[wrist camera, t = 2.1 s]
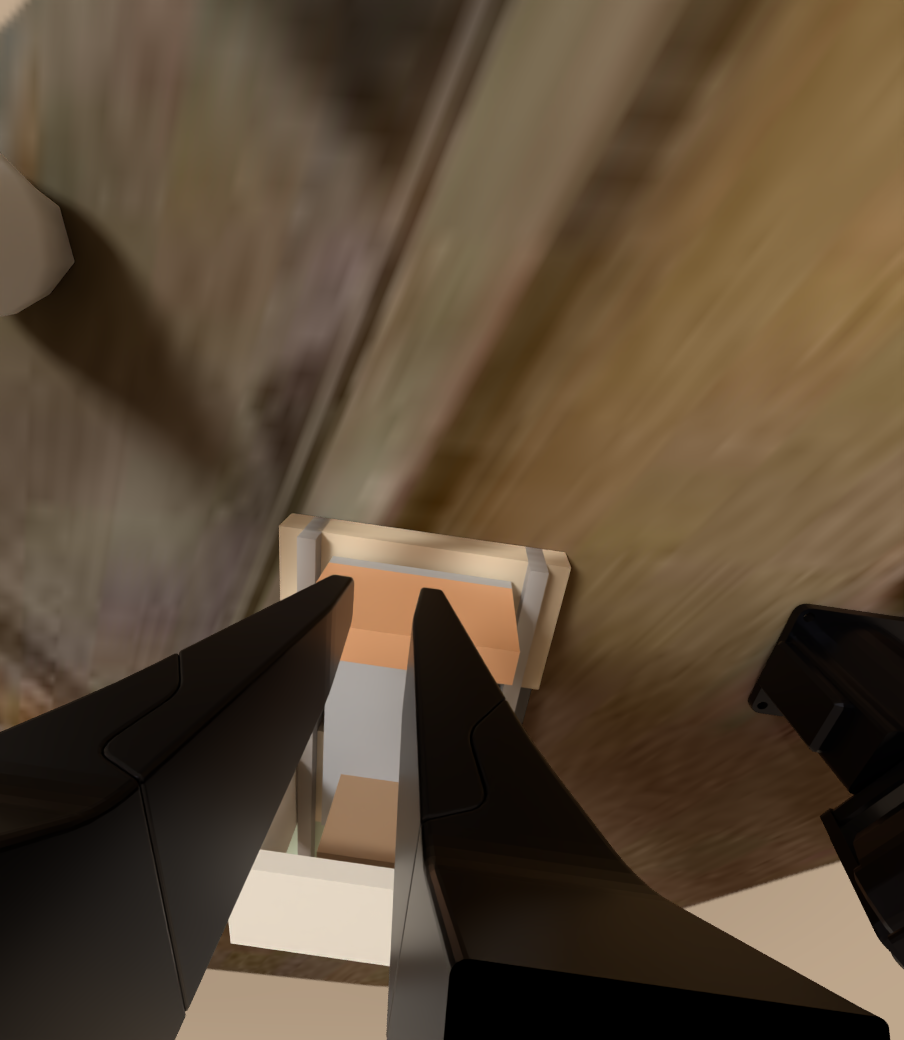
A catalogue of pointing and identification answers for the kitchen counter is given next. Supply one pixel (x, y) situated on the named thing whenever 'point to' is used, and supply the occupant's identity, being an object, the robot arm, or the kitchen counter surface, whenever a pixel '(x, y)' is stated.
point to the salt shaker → (28, 242)
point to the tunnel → (313, 900)
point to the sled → (391, 695)
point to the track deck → (527, 568)
